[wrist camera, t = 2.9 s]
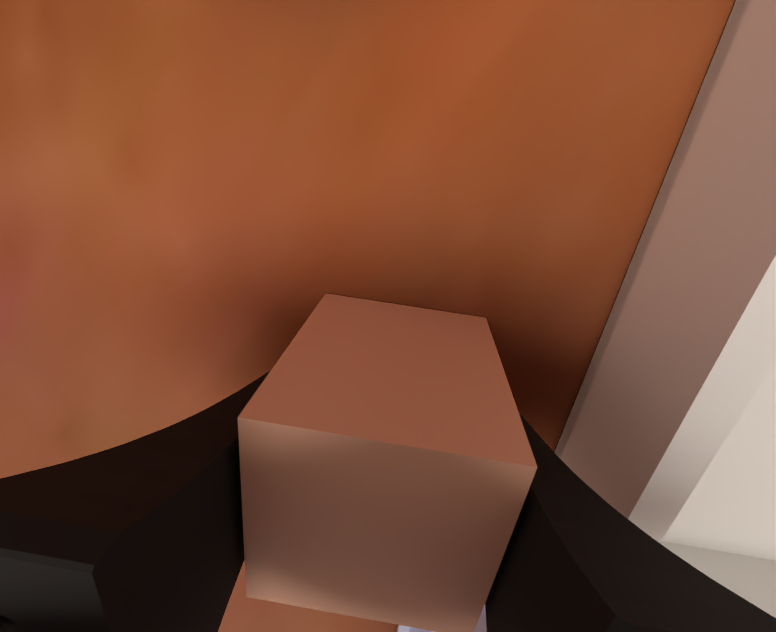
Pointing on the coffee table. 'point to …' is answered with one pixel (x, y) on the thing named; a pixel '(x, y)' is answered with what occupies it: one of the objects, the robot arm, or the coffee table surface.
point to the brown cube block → (383, 467)
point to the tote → (699, 337)
